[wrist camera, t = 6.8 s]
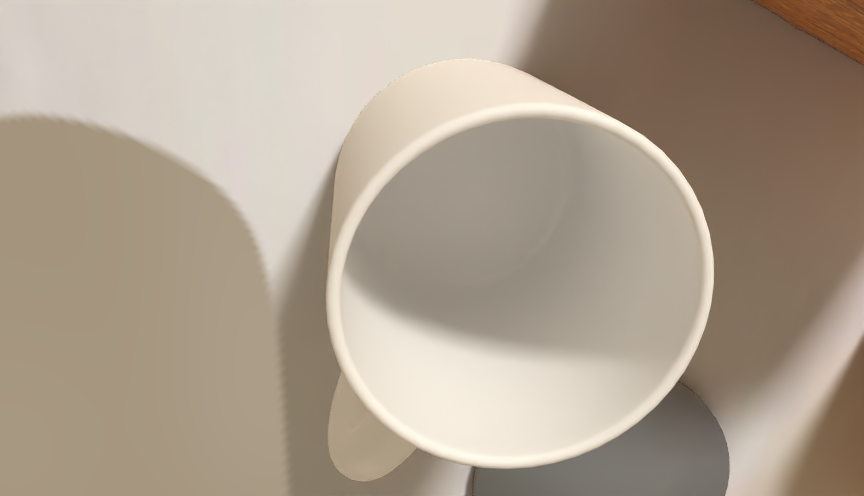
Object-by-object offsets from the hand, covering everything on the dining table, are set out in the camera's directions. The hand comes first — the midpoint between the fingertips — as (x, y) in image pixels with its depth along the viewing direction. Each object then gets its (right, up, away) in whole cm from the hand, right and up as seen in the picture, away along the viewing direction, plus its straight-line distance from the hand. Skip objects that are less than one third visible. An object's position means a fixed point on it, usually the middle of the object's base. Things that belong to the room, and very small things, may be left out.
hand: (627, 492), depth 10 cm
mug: (-3, +4, +16) cm, 17 cm away
